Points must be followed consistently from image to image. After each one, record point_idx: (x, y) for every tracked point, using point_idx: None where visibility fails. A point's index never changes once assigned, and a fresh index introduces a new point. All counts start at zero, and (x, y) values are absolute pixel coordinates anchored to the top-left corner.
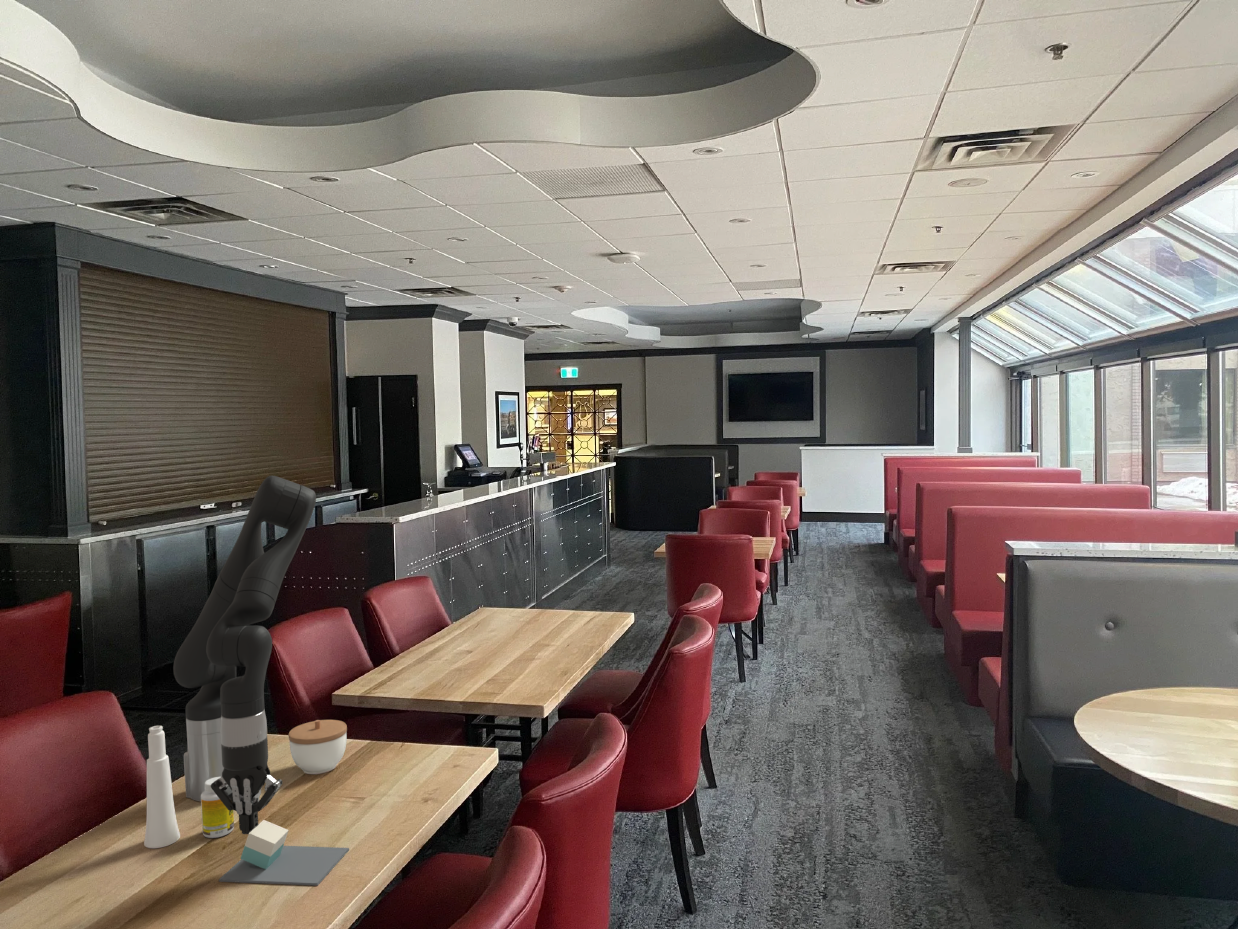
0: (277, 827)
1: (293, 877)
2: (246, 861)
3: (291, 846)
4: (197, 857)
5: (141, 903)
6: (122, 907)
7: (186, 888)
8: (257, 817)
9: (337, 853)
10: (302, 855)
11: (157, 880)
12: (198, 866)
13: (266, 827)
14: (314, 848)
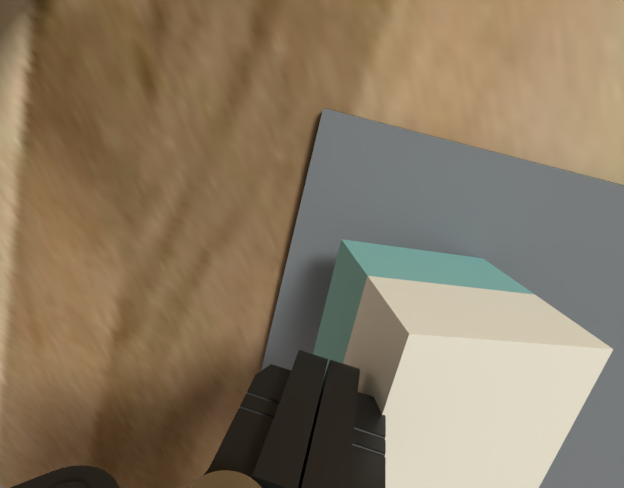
0: (531, 363)
1: (582, 479)
2: (320, 284)
3: (536, 169)
4: (70, 165)
5: (60, 451)
6: (18, 455)
7: (155, 405)
8: (382, 484)
9: None
10: (615, 292)
11: (22, 323)
12: (117, 251)
13: (451, 407)
14: None
